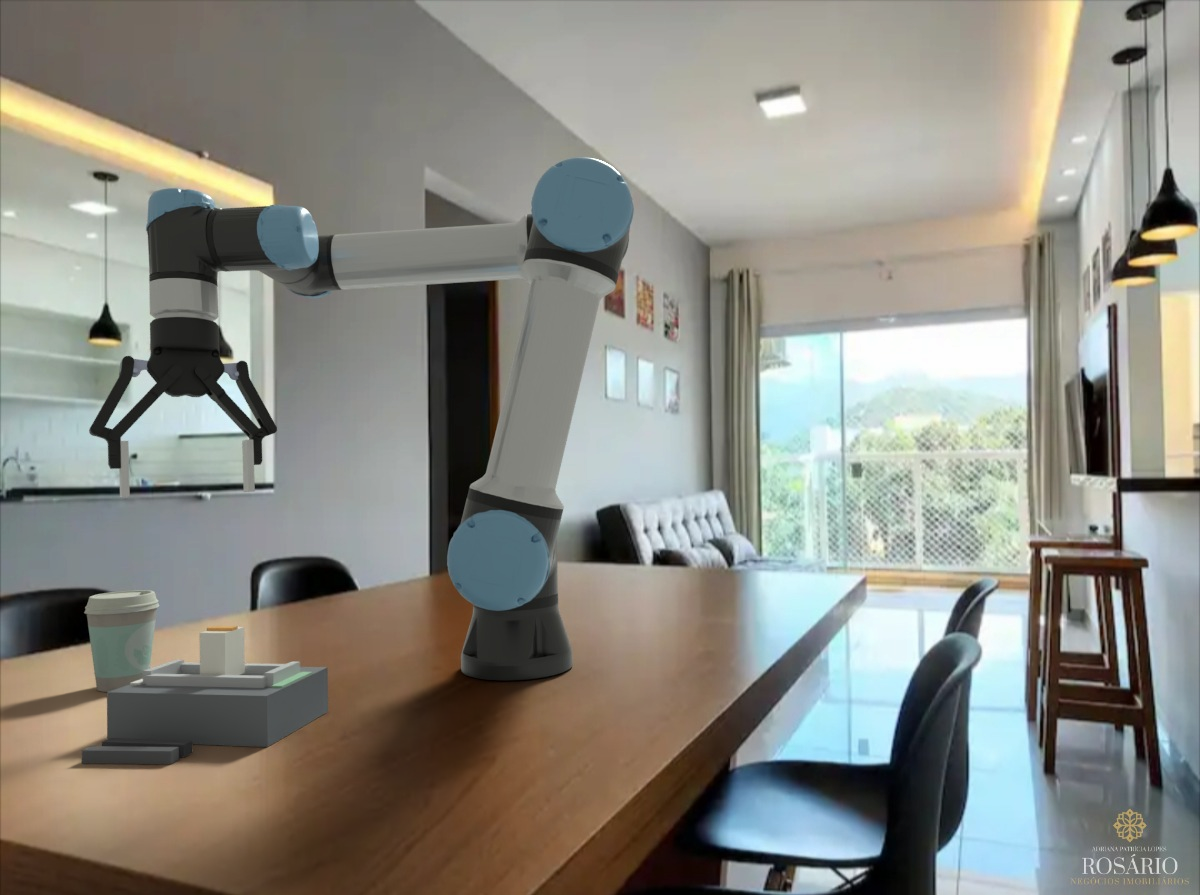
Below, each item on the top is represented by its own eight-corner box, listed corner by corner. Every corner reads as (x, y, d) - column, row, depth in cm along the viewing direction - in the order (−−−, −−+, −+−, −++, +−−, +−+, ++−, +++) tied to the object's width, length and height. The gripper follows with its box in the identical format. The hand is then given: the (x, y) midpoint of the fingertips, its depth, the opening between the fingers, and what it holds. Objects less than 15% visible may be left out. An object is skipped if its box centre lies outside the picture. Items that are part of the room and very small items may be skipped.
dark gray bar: (178, 759, 78) (178, 746, 78) (171, 764, 77) (170, 751, 77) (90, 758, 79) (90, 746, 79) (81, 763, 78) (81, 750, 78)
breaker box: (328, 711, 93) (327, 654, 93) (267, 746, 81) (266, 681, 81) (185, 708, 96) (185, 653, 96) (107, 741, 84) (106, 678, 84)
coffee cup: (126, 696, 102) (125, 599, 102) (68, 694, 104) (67, 599, 104) (174, 678, 110) (174, 589, 111) (120, 677, 112) (119, 589, 113)
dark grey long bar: (192, 752, 80) (192, 740, 80) (184, 757, 78) (184, 744, 79) (110, 750, 81) (110, 737, 81) (101, 754, 80) (101, 741, 80)
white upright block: (244, 672, 90) (244, 624, 90) (225, 680, 87) (224, 630, 87) (219, 672, 90) (219, 624, 91) (199, 680, 87) (199, 630, 87)
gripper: (283, 332, 110) (288, 489, 109) (61, 318, 96) (65, 499, 95) (298, 322, 104) (303, 489, 103) (63, 306, 90) (68, 499, 89)
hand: (189, 494), depth 99 cm, fingers open, 13 cm apart
